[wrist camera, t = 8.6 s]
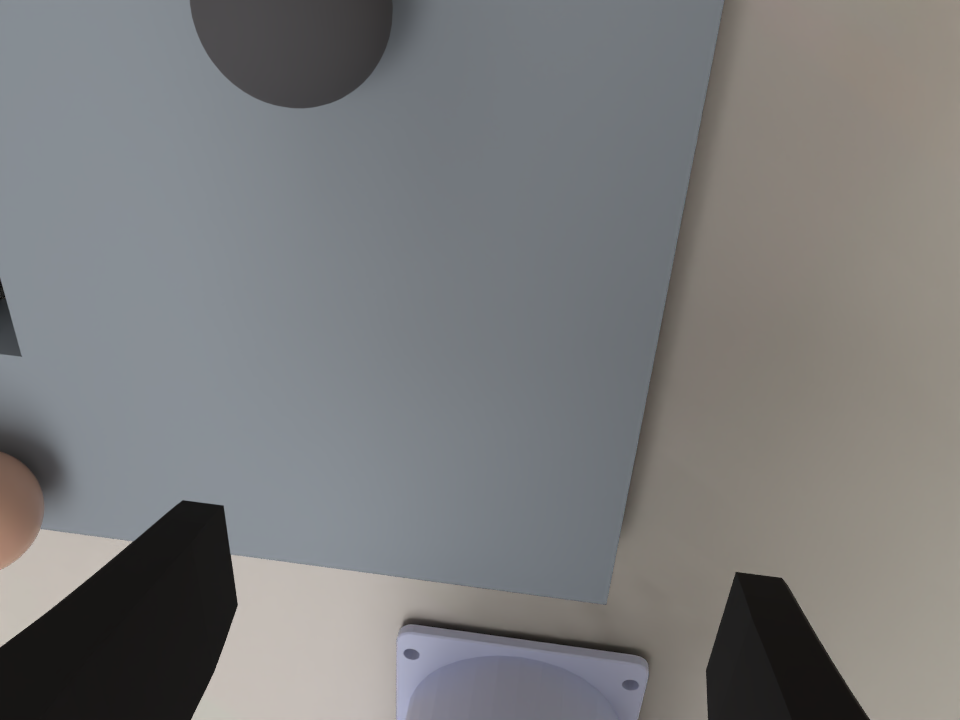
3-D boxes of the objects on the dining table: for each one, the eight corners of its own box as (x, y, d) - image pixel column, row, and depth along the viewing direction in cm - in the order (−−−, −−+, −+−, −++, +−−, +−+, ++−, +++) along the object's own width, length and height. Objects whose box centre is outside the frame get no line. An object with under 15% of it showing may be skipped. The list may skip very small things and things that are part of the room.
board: (606, 538, 24) (606, 641, 21) (-112, 445, 26) (-209, 529, 23) (721, -89, 16) (749, -69, 13) (-358, -166, 18) (-565, -165, 14)
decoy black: (409, 88, 16) (368, 142, 13) (242, 74, 16) (169, 123, 13) (410, -107, 14) (365, -91, 11) (225, -120, 14) (136, -108, 12)
